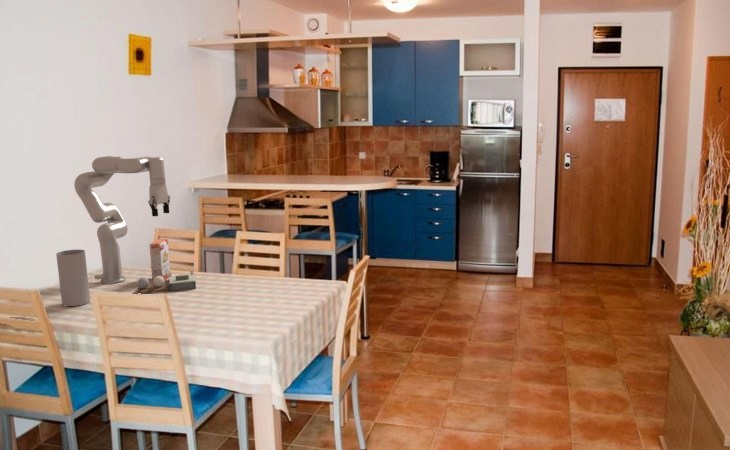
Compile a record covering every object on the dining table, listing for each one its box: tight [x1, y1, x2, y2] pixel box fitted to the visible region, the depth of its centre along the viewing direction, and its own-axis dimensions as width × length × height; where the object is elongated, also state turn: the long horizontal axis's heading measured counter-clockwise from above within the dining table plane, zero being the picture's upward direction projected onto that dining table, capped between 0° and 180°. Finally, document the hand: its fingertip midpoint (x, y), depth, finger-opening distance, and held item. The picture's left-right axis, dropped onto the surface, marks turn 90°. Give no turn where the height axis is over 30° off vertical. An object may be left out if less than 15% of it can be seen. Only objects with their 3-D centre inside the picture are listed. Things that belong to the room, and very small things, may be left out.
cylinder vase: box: [55, 249, 91, 307], centre depth 326 cm, size 12×12×25 cm
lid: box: [168, 274, 196, 285], centre depth 351 cm, size 12×12×3 cm
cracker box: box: [149, 238, 171, 282], centre depth 367 cm, size 14×6×21 cm, turn 179°
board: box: [136, 283, 168, 295], centre depth 347 cm, size 14×10×2 cm
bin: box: [168, 270, 197, 292], centre depth 357 cm, size 12×25×4 cm, turn 17°
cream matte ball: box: [152, 276, 166, 287], centre depth 347 cm, size 6×6×6 cm
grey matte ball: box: [137, 277, 150, 289], centre depth 345 cm, size 6×6×6 cm
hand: (160, 214), depth 352 cm, fingers open, 9 cm apart
